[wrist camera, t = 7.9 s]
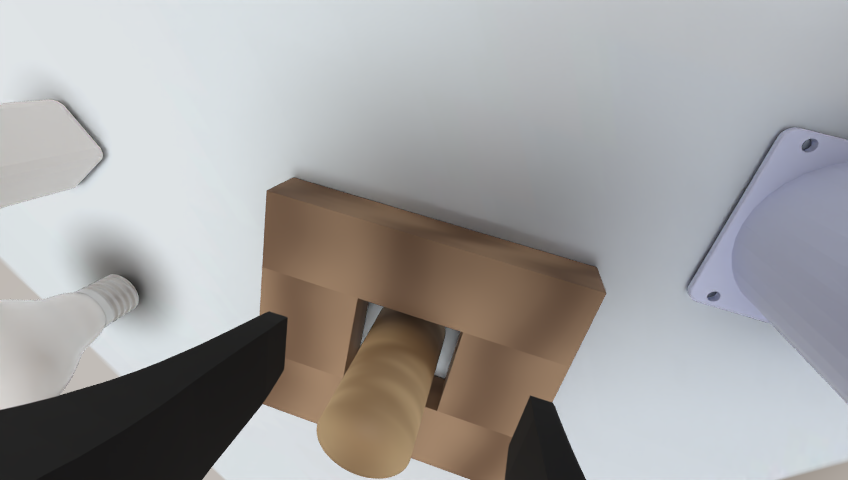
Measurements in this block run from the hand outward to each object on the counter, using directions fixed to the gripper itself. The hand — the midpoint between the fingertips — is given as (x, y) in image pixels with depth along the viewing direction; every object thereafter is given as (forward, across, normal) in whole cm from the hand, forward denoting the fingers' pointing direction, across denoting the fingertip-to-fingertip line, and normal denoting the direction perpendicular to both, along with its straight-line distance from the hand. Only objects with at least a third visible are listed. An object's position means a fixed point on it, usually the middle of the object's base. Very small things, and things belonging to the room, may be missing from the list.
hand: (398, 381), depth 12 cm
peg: (+10, +1, +6) cm, 12 cm away
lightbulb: (+10, +20, +10) cm, 25 cm away
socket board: (+10, +1, +6) cm, 12 cm away
